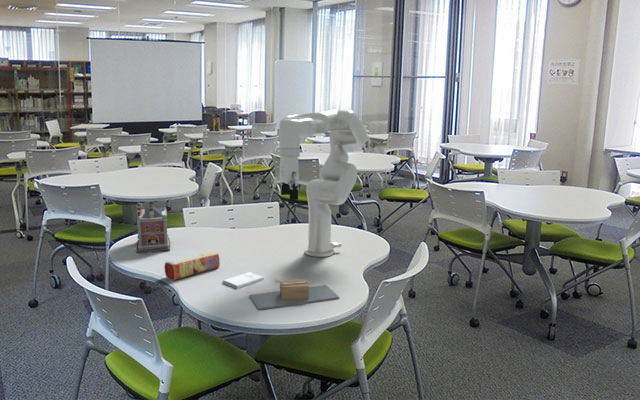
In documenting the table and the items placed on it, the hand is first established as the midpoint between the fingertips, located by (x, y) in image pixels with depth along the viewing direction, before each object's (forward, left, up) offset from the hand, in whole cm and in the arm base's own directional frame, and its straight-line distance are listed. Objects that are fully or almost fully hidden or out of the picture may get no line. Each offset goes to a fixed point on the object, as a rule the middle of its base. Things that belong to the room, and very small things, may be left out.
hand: (289, 197), depth 210 cm
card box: (+8, +29, -28) cm, 41 cm away
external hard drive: (+20, +8, -29) cm, 36 cm away
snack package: (+36, -7, -29) cm, 47 cm away
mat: (+8, +29, -28) cm, 41 cm away
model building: (+47, -47, -29) cm, 72 cm away
